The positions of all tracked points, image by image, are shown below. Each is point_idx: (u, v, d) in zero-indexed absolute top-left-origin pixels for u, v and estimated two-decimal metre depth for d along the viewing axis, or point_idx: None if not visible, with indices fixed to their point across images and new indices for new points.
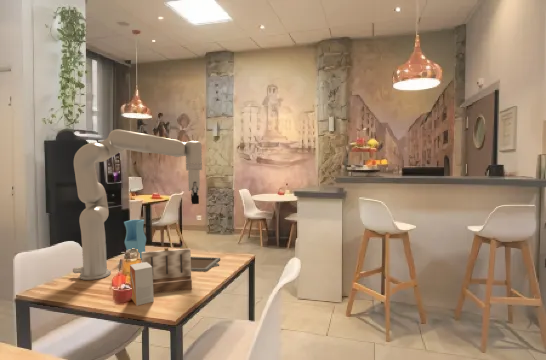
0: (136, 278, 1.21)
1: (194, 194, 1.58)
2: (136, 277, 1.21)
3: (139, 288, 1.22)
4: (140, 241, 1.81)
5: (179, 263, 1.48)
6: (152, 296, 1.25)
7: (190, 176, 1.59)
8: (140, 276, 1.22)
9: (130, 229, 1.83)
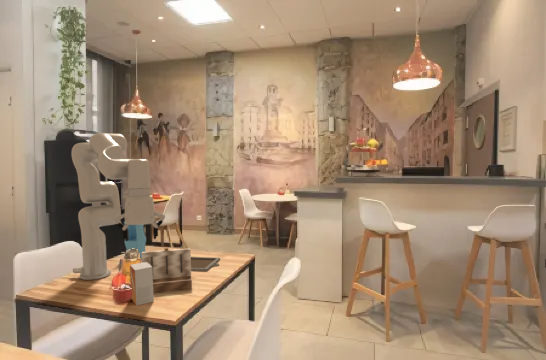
0: (136, 278, 1.21)
1: (158, 226, 1.27)
2: (136, 277, 1.21)
3: (139, 288, 1.22)
4: (140, 241, 1.81)
5: (179, 263, 1.48)
6: (152, 296, 1.25)
7: (152, 204, 1.25)
8: (140, 276, 1.22)
9: (130, 229, 1.83)
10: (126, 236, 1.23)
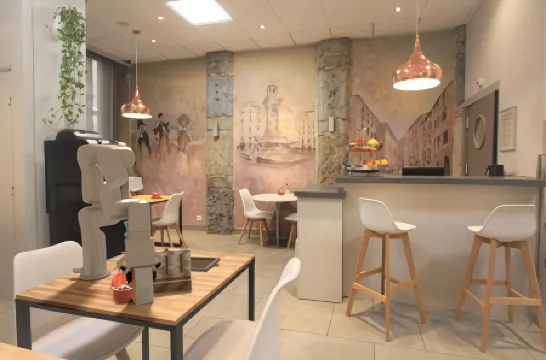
0: (136, 278, 1.21)
1: (157, 268, 1.27)
2: (136, 277, 1.21)
3: (139, 288, 1.22)
4: None
5: (179, 263, 1.48)
6: (152, 296, 1.25)
7: (153, 246, 1.25)
8: (140, 276, 1.22)
9: None
10: (128, 279, 1.24)
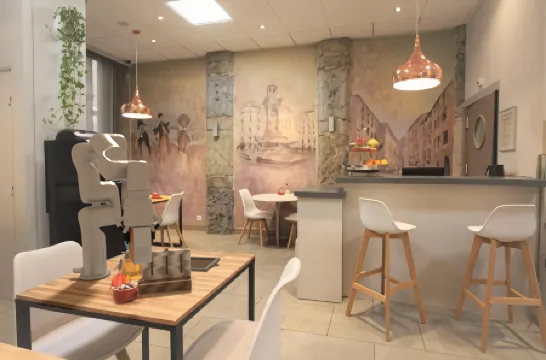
0: (134, 237, 1.21)
1: (155, 229, 1.26)
2: (134, 236, 1.21)
3: (137, 248, 1.21)
4: None
5: (179, 263, 1.48)
6: (150, 256, 1.24)
7: (151, 206, 1.24)
8: (138, 235, 1.21)
9: None
10: (127, 239, 1.23)
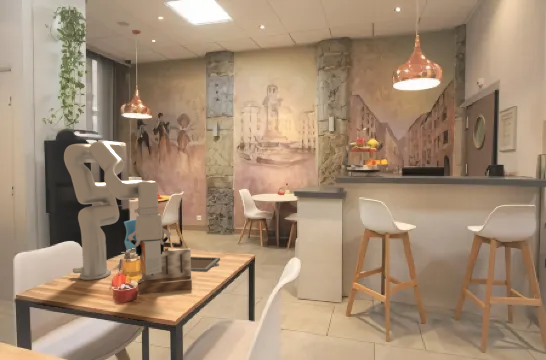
0: (146, 250, 1.34)
1: (164, 242, 1.40)
2: (146, 249, 1.34)
3: (148, 259, 1.35)
4: None
5: (179, 263, 1.48)
6: (160, 267, 1.37)
7: (160, 221, 1.37)
8: (149, 248, 1.35)
9: (130, 229, 1.83)
10: (138, 252, 1.36)
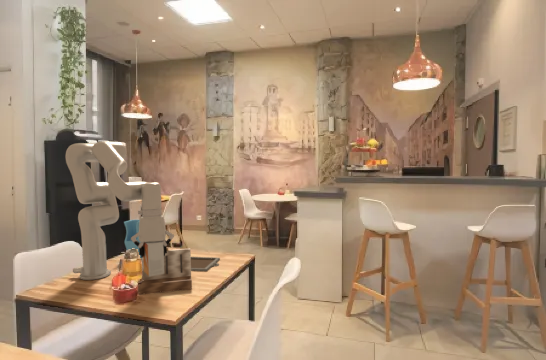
0: (149, 252, 1.34)
1: (167, 244, 1.40)
2: (149, 251, 1.34)
3: (151, 261, 1.35)
4: None
5: (179, 263, 1.48)
6: (163, 269, 1.38)
7: (164, 223, 1.38)
8: (152, 250, 1.35)
9: (130, 229, 1.83)
10: (141, 253, 1.37)
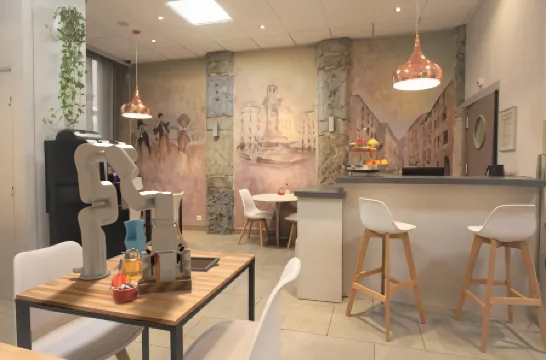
0: (160, 262, 1.36)
1: (181, 251, 1.42)
2: (160, 261, 1.36)
3: (163, 271, 1.36)
4: (140, 241, 1.81)
5: (179, 263, 1.48)
6: (174, 279, 1.39)
7: (176, 232, 1.39)
8: (164, 261, 1.36)
9: (130, 229, 1.83)
10: (153, 261, 1.38)
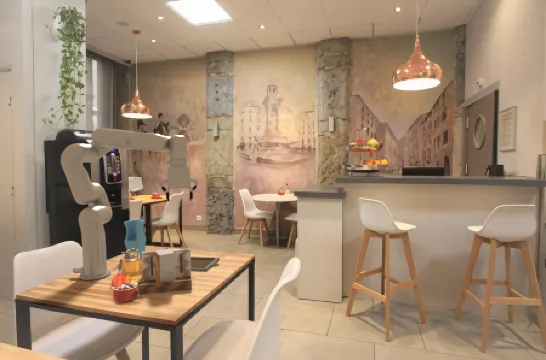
0: (160, 262, 1.36)
1: (193, 190, 1.56)
2: (160, 261, 1.36)
3: (163, 271, 1.36)
4: (140, 241, 1.81)
5: (179, 263, 1.48)
6: (174, 279, 1.39)
7: (189, 172, 1.54)
8: (164, 261, 1.36)
9: (130, 229, 1.83)
10: (168, 197, 1.53)
